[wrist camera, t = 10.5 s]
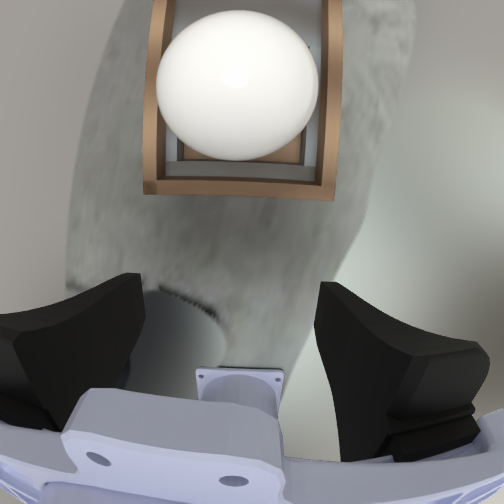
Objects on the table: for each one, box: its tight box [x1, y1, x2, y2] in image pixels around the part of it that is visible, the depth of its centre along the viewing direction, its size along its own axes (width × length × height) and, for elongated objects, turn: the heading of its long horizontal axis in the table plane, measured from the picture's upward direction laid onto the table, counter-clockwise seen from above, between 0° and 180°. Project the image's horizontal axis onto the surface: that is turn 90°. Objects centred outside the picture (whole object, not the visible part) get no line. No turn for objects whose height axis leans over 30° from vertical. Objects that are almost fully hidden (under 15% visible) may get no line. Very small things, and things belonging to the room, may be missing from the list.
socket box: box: [143, 0, 343, 202], centre depth 16 cm, size 14×11×4 cm
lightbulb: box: [156, 10, 319, 161], centre depth 13 cm, size 6×6×11 cm
